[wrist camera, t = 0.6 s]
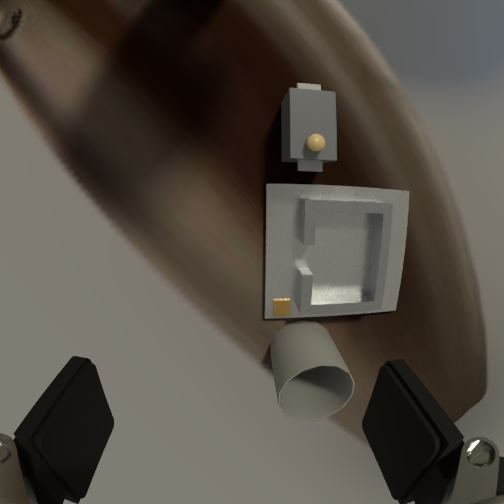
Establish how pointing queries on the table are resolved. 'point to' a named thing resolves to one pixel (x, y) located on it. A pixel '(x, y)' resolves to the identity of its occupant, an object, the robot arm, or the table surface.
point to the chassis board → (333, 249)
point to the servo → (309, 127)
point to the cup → (309, 371)
